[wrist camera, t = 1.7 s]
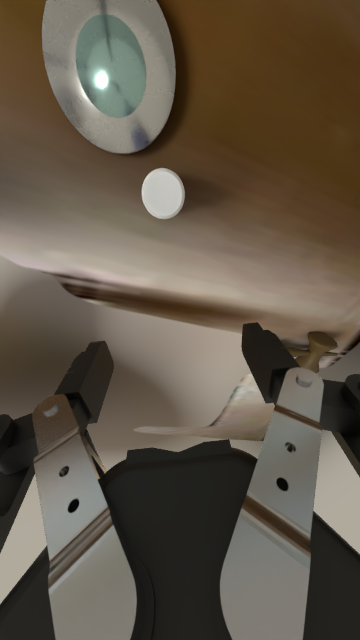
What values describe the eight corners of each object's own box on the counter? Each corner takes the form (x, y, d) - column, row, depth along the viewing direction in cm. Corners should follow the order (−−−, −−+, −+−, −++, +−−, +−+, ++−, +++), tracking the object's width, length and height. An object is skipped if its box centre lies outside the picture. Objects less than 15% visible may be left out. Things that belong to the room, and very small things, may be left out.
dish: (79, 162, 29) (73, 160, 28) (25, -15, 21) (12, -34, 20) (181, 147, 29) (182, 144, 27) (165, -36, 21) (165, -57, 19)
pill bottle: (183, 212, 34) (189, 218, 25) (149, 217, 34) (144, 225, 25) (178, 170, 31) (183, 160, 22) (141, 176, 31) (133, 169, 22)
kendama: (261, 327, 48) (339, 331, 50) (250, 356, 53) (321, 359, 55) (272, 343, 43) (358, 347, 45) (258, 374, 48) (336, 377, 50)
